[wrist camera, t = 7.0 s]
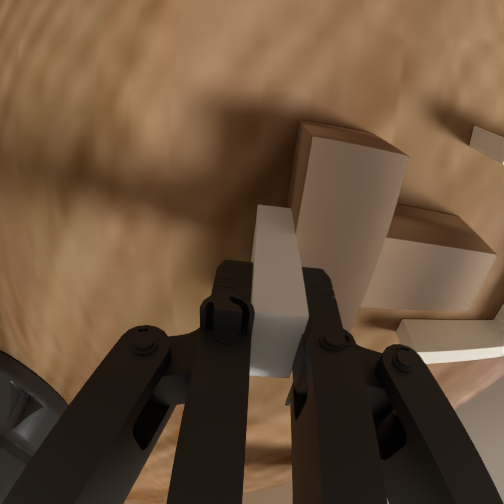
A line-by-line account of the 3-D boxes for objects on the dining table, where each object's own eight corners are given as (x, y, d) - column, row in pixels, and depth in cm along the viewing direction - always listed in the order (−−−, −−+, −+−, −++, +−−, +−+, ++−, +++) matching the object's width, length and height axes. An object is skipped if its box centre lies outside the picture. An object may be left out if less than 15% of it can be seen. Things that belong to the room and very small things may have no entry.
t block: (270, 297, 18) (271, 350, 15) (299, 119, 13) (312, 136, 9) (419, 308, 18) (440, 352, 15) (476, 163, 13) (521, 192, 9)
